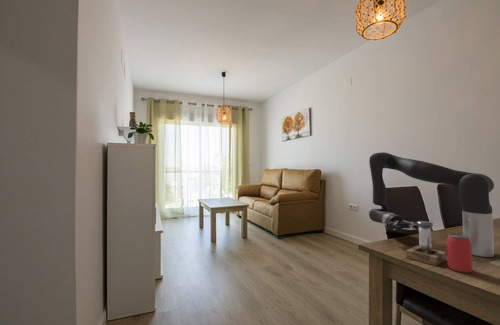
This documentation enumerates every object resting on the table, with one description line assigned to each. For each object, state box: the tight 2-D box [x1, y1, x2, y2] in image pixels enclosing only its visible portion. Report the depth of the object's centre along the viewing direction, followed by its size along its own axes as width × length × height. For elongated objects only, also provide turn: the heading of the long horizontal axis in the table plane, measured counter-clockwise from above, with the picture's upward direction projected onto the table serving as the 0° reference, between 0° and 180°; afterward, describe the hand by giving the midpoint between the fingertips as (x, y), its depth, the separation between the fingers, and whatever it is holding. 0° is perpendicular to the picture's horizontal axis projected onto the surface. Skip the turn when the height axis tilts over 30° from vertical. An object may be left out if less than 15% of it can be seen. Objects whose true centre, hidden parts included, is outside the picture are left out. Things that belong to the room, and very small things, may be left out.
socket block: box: [405, 245, 447, 267], centre depth 95 cm, size 10×10×3 cm
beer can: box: [446, 233, 473, 274], centre depth 85 cm, size 7×7×12 cm
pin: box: [416, 220, 434, 255], centre depth 95 cm, size 5×5×14 cm
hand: (410, 229), depth 106 cm, fingers open, 8 cm apart
